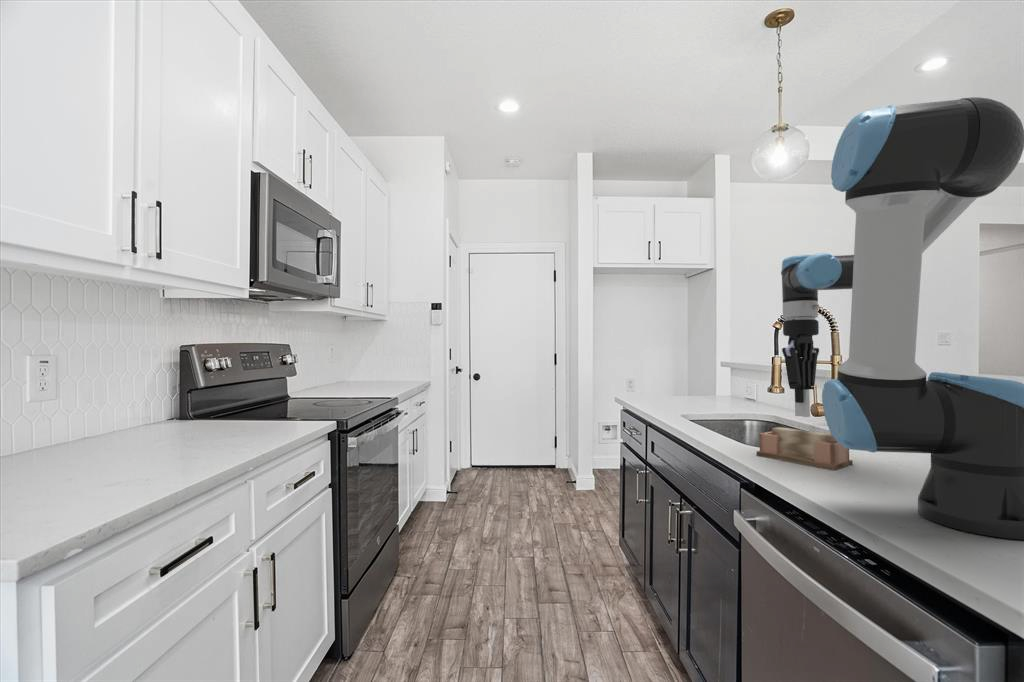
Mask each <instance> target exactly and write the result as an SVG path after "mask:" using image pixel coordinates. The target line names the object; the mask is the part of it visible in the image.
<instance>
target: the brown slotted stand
mask: <svg viewBox="0 0 1024 682" xmlns="http://www.w3.org/2000/svg"><path fill="white" fill-rule="evenodd" d="M758 436H759V451H761V452H767V453H772V454H779V436H778V435H772V430H771V431H766V432H760V433H759V435H758ZM849 460H850V449H847V448H844V447H843V446H841V445H840V444H839V443H833V444H831V443H825V442H818V441H816V442H814V461H816V462H821V463H827V464H832V465H837V464H841V463H844V462H848V461H849Z"/></svg>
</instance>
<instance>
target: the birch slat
mask: <svg viewBox="0 0 1024 682" xmlns="http://www.w3.org/2000/svg"><path fill="white" fill-rule="evenodd" d="M771 431H772V435H778V436H779V453H782V454H787V455H793V456H799V457H804V458H810V459H814V442H816V441H818V442H825V443H831V444H833V443H838V442H837V441H836V440H835V439H834V437H833V436H832V434H831V433H825V432H819V431H818V432H817V431H812V430H811V431H810V430H802V429H795V428H789V427H788V428H787V427H781V426H776V427H772V428H771Z"/></svg>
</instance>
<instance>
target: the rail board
mask: <svg viewBox="0 0 1024 682" xmlns="http://www.w3.org/2000/svg"><path fill="white" fill-rule="evenodd" d="M755 454H756V456H757V457H761V458H762V457H763V458H767V459H771V460H772V459H773V460H777V461H784V462H787V463H793V464H798V465H804V466H809V467H810V466H811V467H814V468H821V469H825V470H828V471H829V470H830V471H837V470H840V469H843V468H846V467H849V466H854V465H853V460H851V459H849V461H848V462H844V463H841V464H837V465H832V464H827V463H821V462H816V461H814V459H810V458H804V457H799V456H793V455H787V454H782V453H779V454H772V453H767V452H761V451H760V450H757V451H756V453H755Z"/></svg>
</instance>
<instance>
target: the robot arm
mask: <svg viewBox="0 0 1024 682" xmlns="http://www.w3.org/2000/svg"><path fill="white" fill-rule="evenodd" d="M1023 151H1024V126H1023V123H1022V120H1021V118H1020V117H1019V116H1018V114H1017V113H1016V112H1015V111H1014V110H1013V109H1012V108H1011V107H1009V106H1008V105H1006V104H1004V103H1003V102H1000V101H998V100H995V99H991V98H986V97H979V96H978V97H977V96H976V97H973V96H972V97H971V96H970V97H964V98H959V99H952V100H943V101H942V100H941V101H930V102H918V103H908V104H900V105H899V104H898V105H894V104H892V105H888V106H885V107H881V108H876V109H870V110H865V111H861V112H859V113H858V114H857V115H855V116H854V117H852V118H851V119H850V121H848V123H847V125H846V126H845V128H844V129H843V131H842V133H841V135H840V137H839V139H838V142H837V144H836V146H835V151H834V155H833V159H832V162H831V169H830V170H831V173H830V178H831V184H832V187H833V189H834V190H836V191H837V192H838V191H839V192H841V193H843V192H845V200H844V201H845V202H844V204H846V206H847V207H849V208H850V209H851V210H852V211H854V213H855V227H854V245H853V246H854V248H853V254H846V255H833V254H829V253H826V252H825V253H824V252H822V253H815V254H797V255H791V256H787V257H785V258H784V259H783V260H782V262H781V265H782V266H781V271H780V274H781V290H782V291H781V293H782V295H781V296H782V319H783V320H784V321H783V322H782V334H783V336H785V337H788V342H787V344H788V345H787V347H782V348H781V352H782V355H783V357H784V363H785V368H786V369H785V370H786V375H787V380H788V381H787V383H788V386H789V389H790V390H794V415H795V417H802V418H808V417H811V410H810V408H811V406H810V404H811V403H810V402H811V401H810V400H811V399H810V390H815V383H816V372H817V363H818V357H819V353H820V348H819V347H814V340H813V336H818V335H819V334H820V333H819V328H820V327H819V326H820V325H819V323H820V322H819V321H818V319H816V318H818V317H819V308H820V305H819V295H818V294H819V291H829V290H830V291H832V290H833V291H835V290H836V291H837V290H852V291H851V305H850V306H851V310H850V327H849V328H850V330H849V349H848V350H849V351H848V358H847V359H846V361H844V362H842V363H841V364H840V365H839V366H837V373H836V375H837V377H836V378H832V379H829V380H827V381H826V382H824V384H823V388H822V392H821V402H822V410H823V416H824V418H825V421H826V424H827V428H828V429H829V432H830V434H832V436H833V437H834V439H835V440H836V441H837V442H838V443H839V444H840V445H841V446H843V447H844V448H847V449H849V450H853V451H864V452H869V453H876V452H880V453H881V452H882V453H905V454H907V453H909V454H930V469H929V470H928V473H927V475H926V477H925V479H924V482H923V485H922V487H921V489H920V492H919V495H918V496H917V497H918V498H917V512H918V515H920V516H922V517H923V518H925V519H927V520H929V521H932V522H934V523H937V524H939V525H942V526H946V527H948V528H951V529H955V530H958V531H963V532H968V533H972V534H976V535H983V536H986V537H987V536H988V537H994V538H999V539H1000V538H1002V539H1010V540H1024V383H1022V382H1021V381H1017V380H1012V379H1003V378H997V377H996V378H994V377H985V376H976V375H967V374H957V373H949V372H939V371H938V372H936V371H932V372H930V373H929V376H927V371H925V370H924V369H923V368H921V366H920V365H919V364H917V362H916V353H917V352H916V351H917V350H916V349H917V335H918V320H919V319H918V318H919V306H920V305H919V303H920V289H921V276H922V275H921V273H922V263H923V262H922V261H923V260H922V259H923V253H924V252H925V251H926V250H927V249H928V248H929V247H930V246H931V245H932V244H933V243H934V242H935V241H936V240H937V239H938V238H939V237H940V236H941V235H942V234H943V233H944V232H945V231H946V230H947V229H948V228H949V227H950V226H951V225H952V224H953V223H954V222H955V221H956V220H957V219H958V218H959V217H960V216H961V215H962V214H963V213H964V212H965V211H966V210H967V209H968V208H969V207H970V206H971V205H972V203H974V202H975V201H977V199H978V198H981V197H982V198H983V197H985V196H988V195H990V194H991V193H993V192H994V191H996V190H997V189H998V188H999V187H1000V186H1001V185H1002V184H1003V183H1004V182H1005V181H1006V180H1007V179H1008V178H1009V177H1010V176H1011V174H1012V173H1013V172H1014V170H1015V169H1016V167H1017V165H1018V164H1019V162H1020V160H1021V157H1022V155H1023V153H1024V152H1023Z"/></svg>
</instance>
